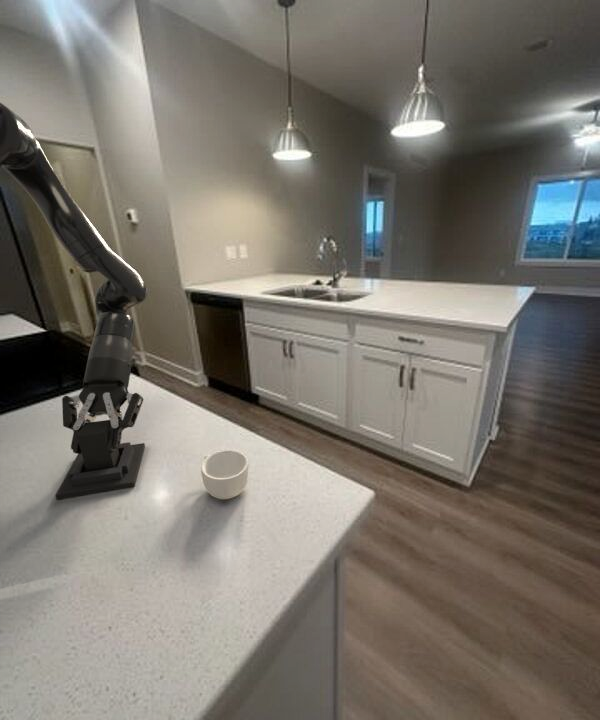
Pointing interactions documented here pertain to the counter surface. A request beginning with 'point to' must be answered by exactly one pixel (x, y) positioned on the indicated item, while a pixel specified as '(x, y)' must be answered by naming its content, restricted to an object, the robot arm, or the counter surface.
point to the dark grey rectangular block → (97, 446)
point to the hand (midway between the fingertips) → (94, 451)
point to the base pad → (106, 485)
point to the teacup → (225, 473)
